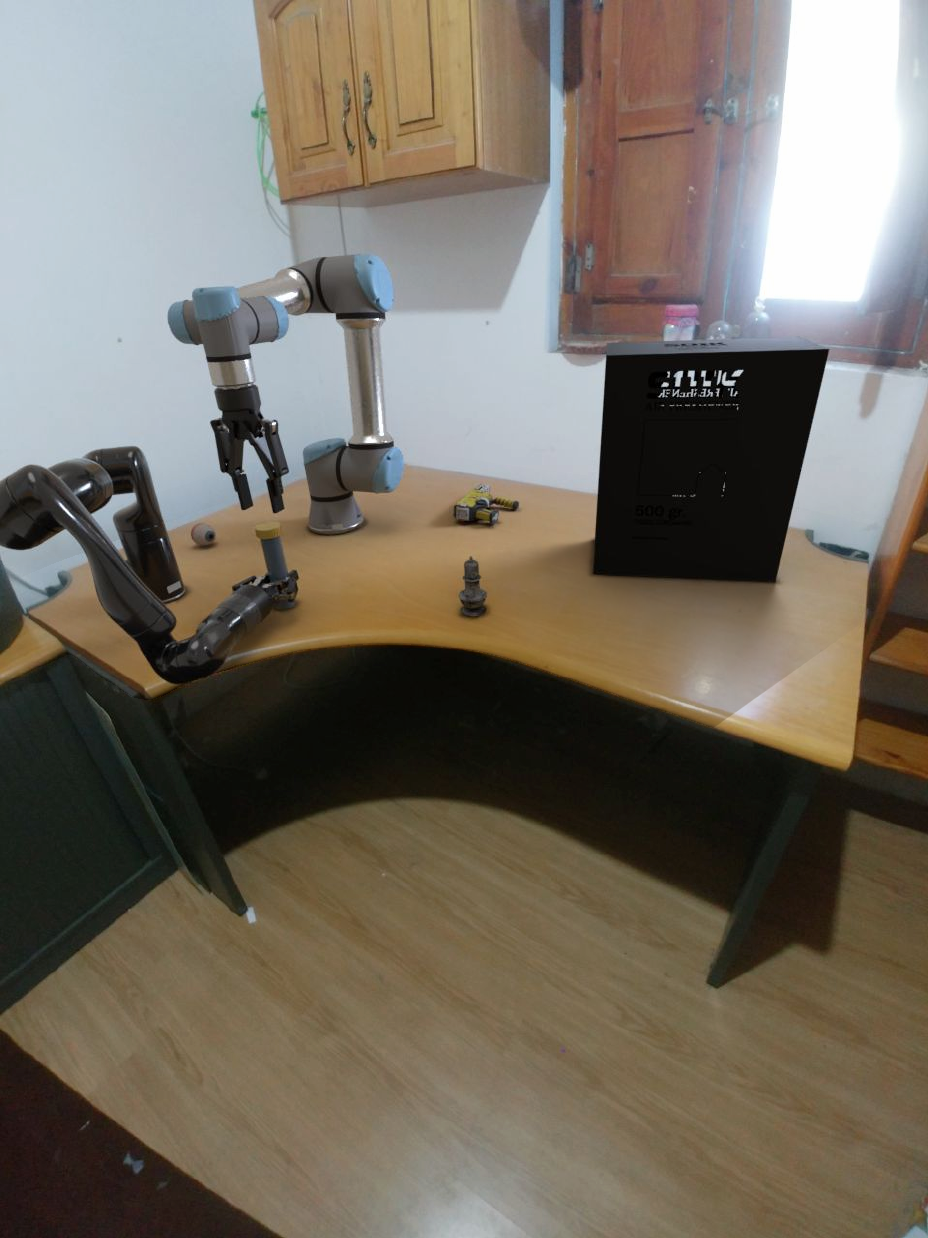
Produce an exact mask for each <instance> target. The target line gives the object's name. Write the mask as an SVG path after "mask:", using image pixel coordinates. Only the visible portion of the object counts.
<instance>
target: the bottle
mask: <svg viewBox="0 0 928 1238" xmlns="http://www.w3.org/2000/svg"><path fill="white" fill-rule="evenodd" d="M259 541H260V542H259V543H260V546H261V550H262V554H263V558H264V562H265V567H266V571H267V572H268V576H269V580H270V583H271V582H273V581H275V580H277V579H278V580H281V579H283V578H284V577H285V576H286V575H287V574H288V573H289V569H288V564H287V559H286V555H285V551H284V546H283V542H282V537H281V535H280V536H278V537H276V538H272V539H259ZM283 586H284V587H285V583H284V584H283ZM274 605H275V608H276V609H277V610H279V611H280V610H281V611H282V610H283V611H285V610H289V609H292V608H293V607H294V606H295V605H296V602H295V601H294V602H291V603H290V602H288V599H282V600H280V602H278V603H276V604H274Z"/></svg>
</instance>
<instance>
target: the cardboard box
mask: <svg viewBox="0 0 928 1238" xmlns="http://www.w3.org/2000/svg"><path fill="white" fill-rule="evenodd" d="M605 351H606V352H605V367H604V369H605V370H604V383H603V384H604V385H603V399H602V400H603V401H602V415H601V431H600V433H601V434H600V448H599V465H598V481H597V497H596V511H595V512H596V514H595V529H594V531H595V532H594V547H593V548H594V550H593V566H592V575H608V576H628V577H629V576H631V577H654V578H655V577H656V578H675V579H676V578H677V579H678V578H679V579H701V580H702V579H703V580H724V581H725V580H726V581H747V582H770V583H776V582H777V577H778V573H779V568H780V565H781V560H782V556H783V552H784V547H785V543H786V538H787V534H788V531H789V530H788V529H789V525H790V521H791V518H792V517H791V516H792V514H793V513H792V512H793V508H794V504H795V500H796V496H797V491H798V488H799V482H800V477H801V474H802V470H803V465H804V460H805V456H806V453H807V448H808V444H809V440H810V435H811V431H812V427H813V422H814V418H815V414H816V409H817V405H818V400H819V397H820V391H821V387H822V383H823V380H824V379H823V378H824V375H825V370H826V366H827V363H828V362H827V361H828V358H829V353H830V348H828V347H826V346H824V345H820V344H819V343H815V342H813V341H811V340H808V339H805V338H803V337H800V336H780V337H778V336H775V337H749V338H748V337H747V338H745V337H744V338H721V339H720V338H717V339H716V338H715V339H689V340H688V339H687V340H684V339H683V340H657V341H655V340H654V341H628V342H627V341H626V342H624V341H623V342H607V343H606V349H605ZM720 371H721V372H720ZM737 371H742V372H740V374H739V375H734V374H735V373H736V372H737ZM678 372H682V376H681V377H680V382H679V385H677V386H676V382H677V377H676V374H677V373H678ZM689 372H694V373H693V382H695V385H691V384H692V376H689ZM702 372H705V375H704V376H702V374H703V373H702ZM719 375H720V379H719ZM724 375H725V377H724ZM723 378H724V382H734V383H733V385H725V384H723ZM705 382H710V385H704V384H705ZM664 383H665V384H666V383H667V386H663V385H664Z"/></svg>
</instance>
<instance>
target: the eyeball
mask: <svg viewBox="0 0 928 1238" xmlns="http://www.w3.org/2000/svg"><path fill="white" fill-rule="evenodd" d="M216 535H217V534H216V530H215V529H214V527H213V526H212V525H211V524H208V523H206V522H200V523H199V522H198V523H197V524H195V525H193V527H192V528H191V530H190V536H191V540H192V541H193V542H194V543H195V544H196V545H199V546H201V547H207V546H210V545H211V544H213V543H214V541H216V538H217V537H216Z"/></svg>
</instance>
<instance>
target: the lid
mask: <svg viewBox="0 0 928 1238" xmlns="http://www.w3.org/2000/svg"><path fill="white" fill-rule="evenodd" d="M254 532H255V536H256V538H257V539H259V540H260V539H272V538H276V537H278V536H280V537H281V535H282V534H283V530H282V526H281V524H280V522H278V521H266V522H262V523H259V524H257V525H256V526H254Z"/></svg>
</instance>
